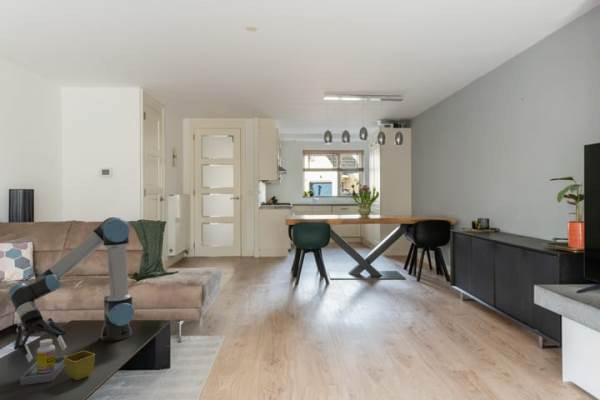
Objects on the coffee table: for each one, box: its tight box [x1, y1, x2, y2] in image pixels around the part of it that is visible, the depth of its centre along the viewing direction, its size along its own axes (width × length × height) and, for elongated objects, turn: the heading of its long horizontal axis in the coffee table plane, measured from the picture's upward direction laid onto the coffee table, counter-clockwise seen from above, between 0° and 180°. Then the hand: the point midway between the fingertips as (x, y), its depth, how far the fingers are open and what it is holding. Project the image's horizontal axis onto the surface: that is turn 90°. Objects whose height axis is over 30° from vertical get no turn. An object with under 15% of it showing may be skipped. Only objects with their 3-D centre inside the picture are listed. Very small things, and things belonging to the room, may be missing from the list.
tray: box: [19, 355, 68, 386], centre depth 169 cm, size 12×20×3 cm, turn 15°
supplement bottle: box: [36, 338, 56, 373], centre depth 169 cm, size 7×7×13 cm
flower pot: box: [64, 350, 96, 381], centre depth 164 cm, size 9×9×9 cm
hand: (48, 354), depth 167 cm, fingers open, 13 cm apart
